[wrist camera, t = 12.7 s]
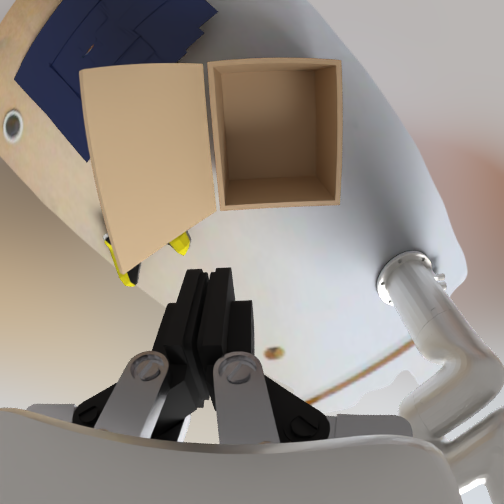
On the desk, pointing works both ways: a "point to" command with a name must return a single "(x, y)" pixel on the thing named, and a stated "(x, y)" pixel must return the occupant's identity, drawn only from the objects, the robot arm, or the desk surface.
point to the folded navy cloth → (103, 50)
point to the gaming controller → (132, 275)
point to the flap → (148, 153)
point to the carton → (277, 131)
